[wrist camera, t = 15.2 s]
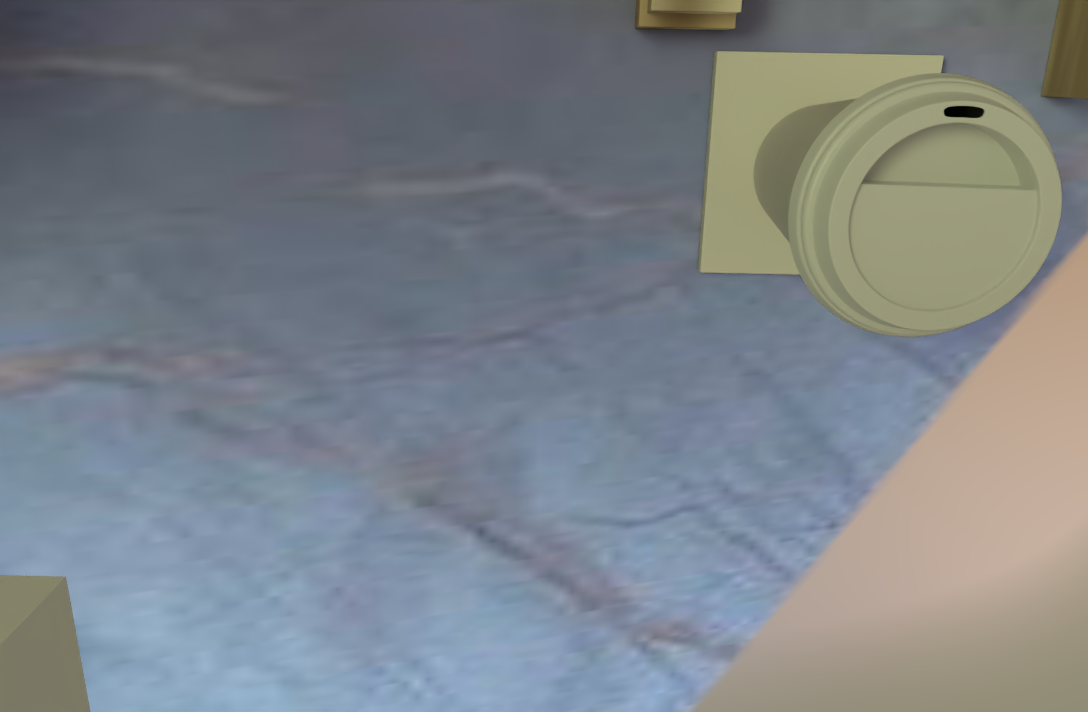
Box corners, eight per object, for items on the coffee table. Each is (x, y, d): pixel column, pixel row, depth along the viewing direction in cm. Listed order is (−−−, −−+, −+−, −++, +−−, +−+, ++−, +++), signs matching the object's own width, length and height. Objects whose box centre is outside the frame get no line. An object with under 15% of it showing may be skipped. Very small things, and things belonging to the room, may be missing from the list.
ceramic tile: (697, 268, 46) (700, 272, 45) (714, 51, 43) (717, 51, 42) (903, 273, 46) (909, 276, 45) (936, 55, 43) (943, 55, 42)
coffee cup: (949, 121, 43) (1146, 149, 29) (850, 291, 46) (985, 393, 31) (781, 37, 42) (898, 22, 27) (690, 217, 44) (753, 288, 30)
